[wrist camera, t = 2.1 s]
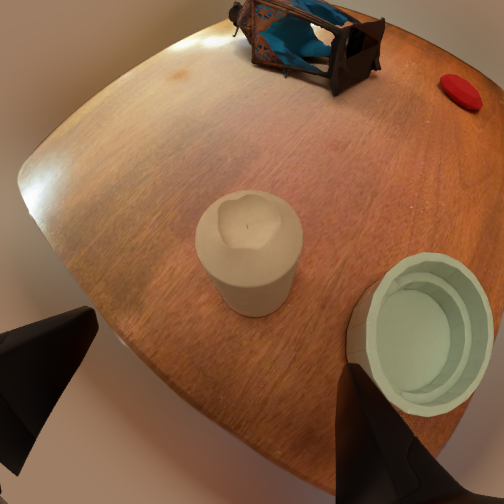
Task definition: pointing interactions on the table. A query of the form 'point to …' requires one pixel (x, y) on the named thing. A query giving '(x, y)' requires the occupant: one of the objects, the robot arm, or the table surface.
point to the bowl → (423, 334)
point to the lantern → (309, 38)
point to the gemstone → (461, 92)
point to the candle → (250, 250)
